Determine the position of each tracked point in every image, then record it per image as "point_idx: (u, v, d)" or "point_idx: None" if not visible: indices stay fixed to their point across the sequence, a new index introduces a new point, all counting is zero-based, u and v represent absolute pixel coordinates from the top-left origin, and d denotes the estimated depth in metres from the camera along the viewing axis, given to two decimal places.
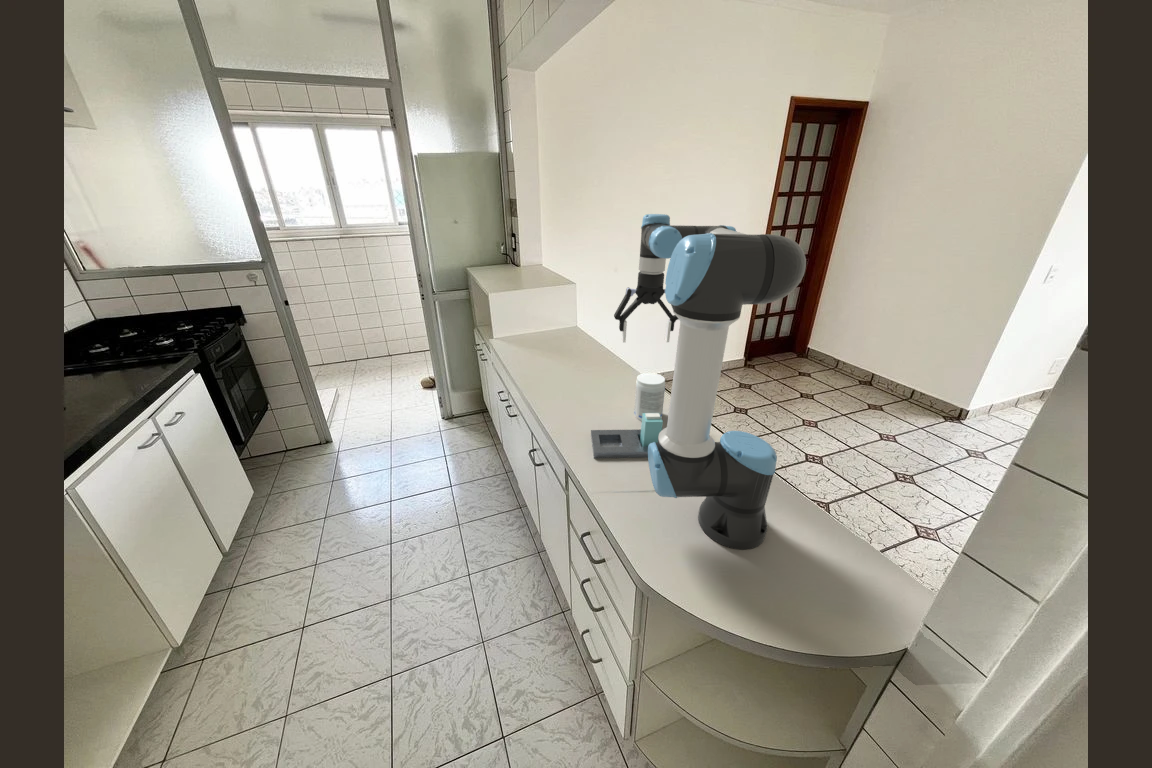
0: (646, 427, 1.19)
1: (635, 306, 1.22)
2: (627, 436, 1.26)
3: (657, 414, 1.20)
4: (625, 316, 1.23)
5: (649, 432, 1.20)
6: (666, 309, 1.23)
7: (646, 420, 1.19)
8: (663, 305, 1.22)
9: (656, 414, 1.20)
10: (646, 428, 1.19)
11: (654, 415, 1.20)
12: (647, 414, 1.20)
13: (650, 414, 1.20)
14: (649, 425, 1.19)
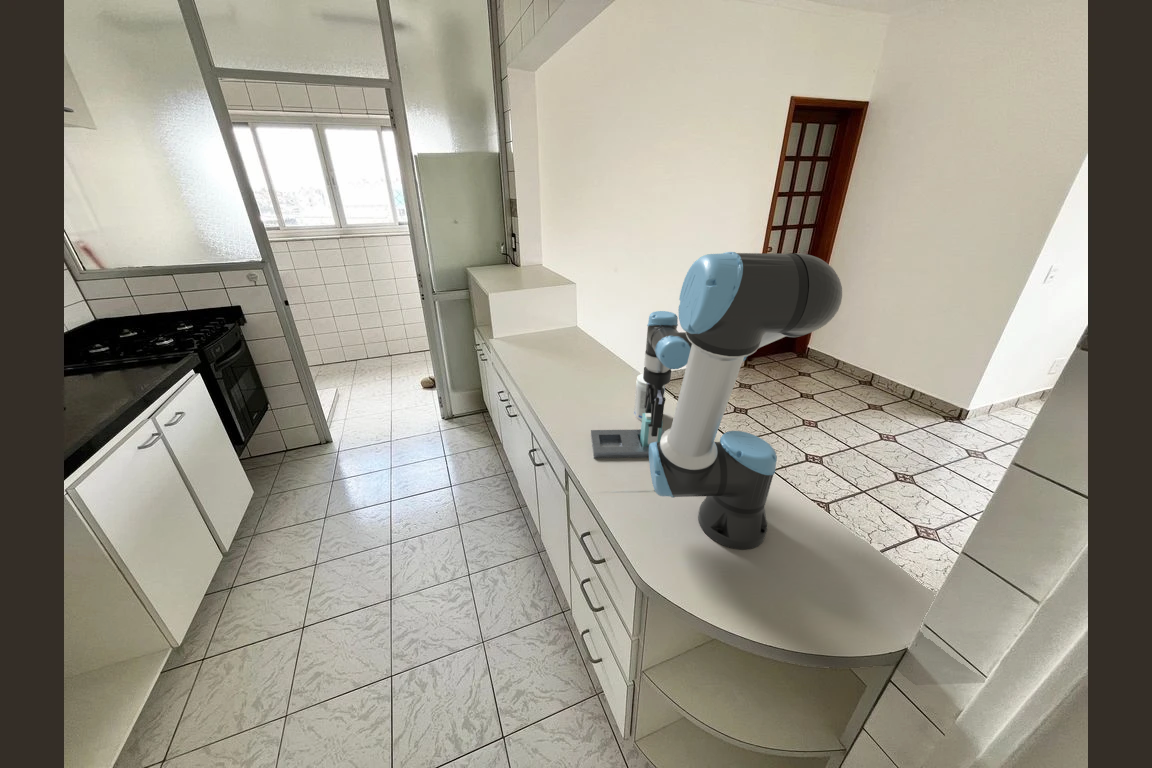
0: (646, 427, 1.19)
1: (648, 398, 1.20)
2: (627, 436, 1.26)
3: None
4: (646, 408, 1.23)
5: None
6: (651, 411, 1.16)
7: (646, 420, 1.19)
8: (651, 405, 1.16)
9: None
10: (646, 428, 1.19)
11: None
12: (647, 414, 1.20)
13: (650, 414, 1.20)
14: None
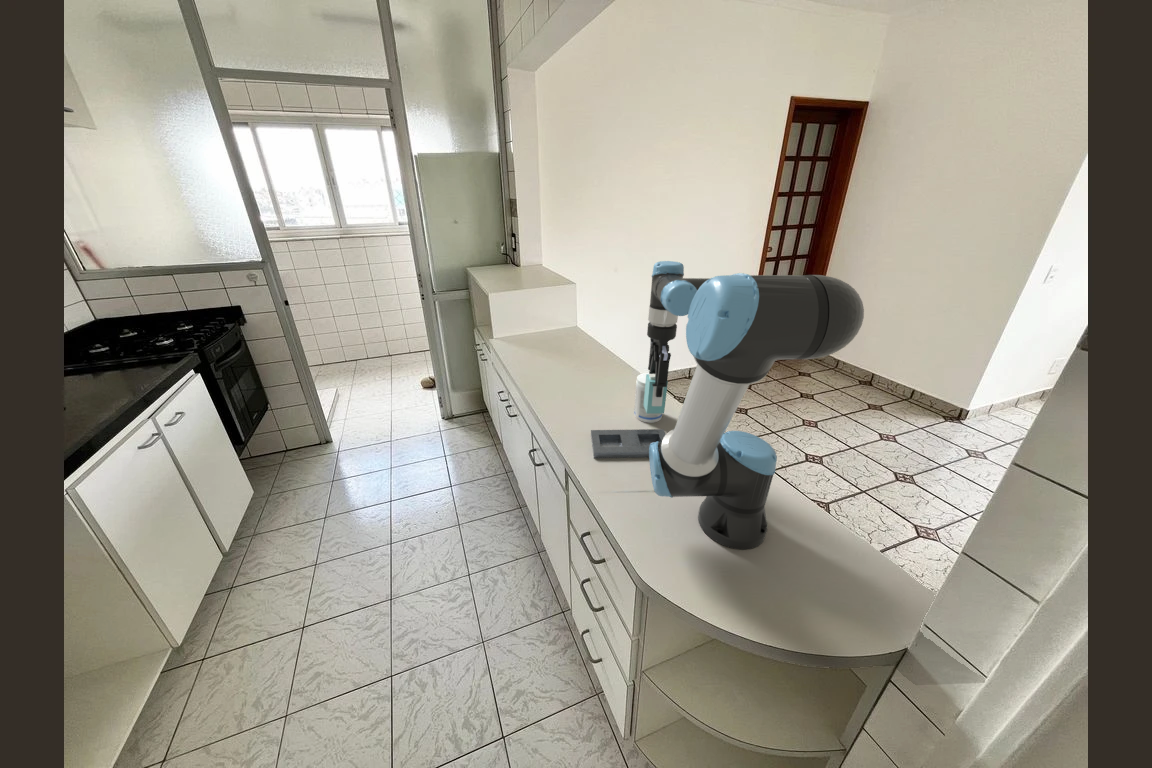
0: (650, 388, 1.13)
1: (652, 357, 1.15)
2: (627, 436, 1.26)
3: None
4: (650, 369, 1.17)
5: None
6: (656, 369, 1.10)
7: (650, 380, 1.13)
8: (656, 363, 1.10)
9: None
10: (650, 389, 1.13)
11: None
12: (651, 375, 1.14)
13: (654, 374, 1.15)
14: None
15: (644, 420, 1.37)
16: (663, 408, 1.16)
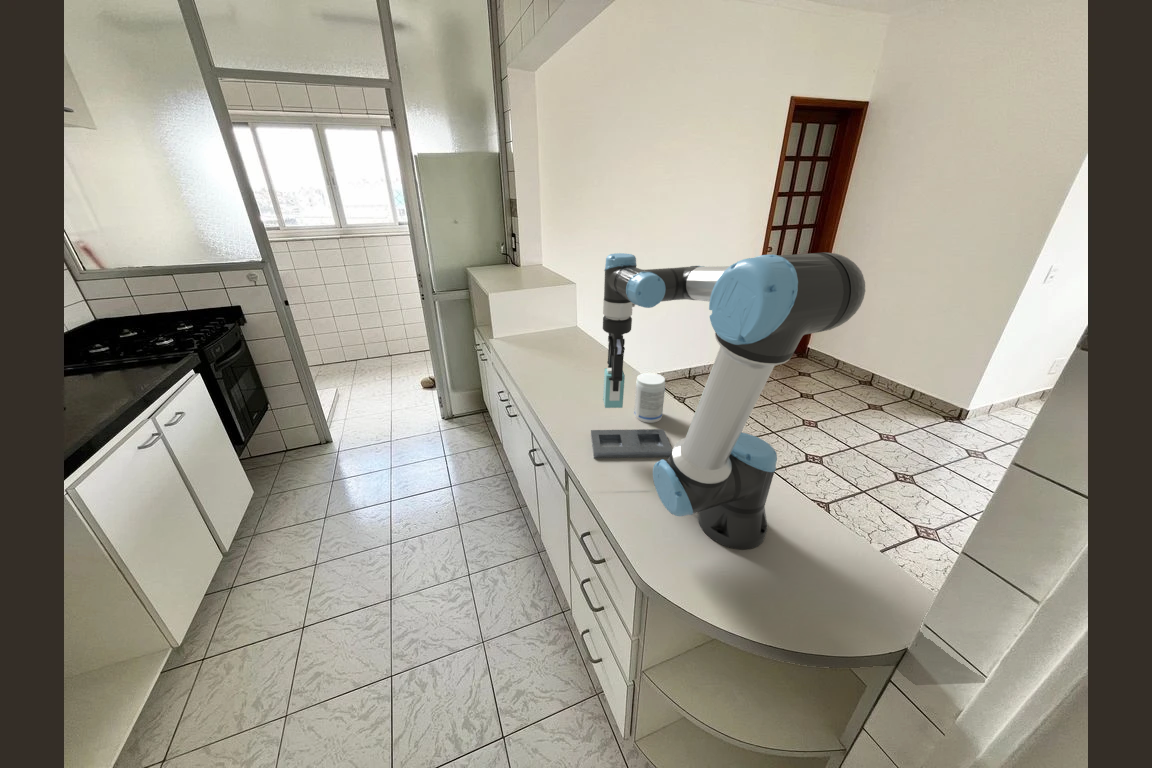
0: (607, 382, 1.12)
1: None
2: (627, 436, 1.26)
3: None
4: (608, 363, 1.16)
5: None
6: (612, 363, 1.09)
7: (607, 374, 1.12)
8: (612, 357, 1.09)
9: None
10: (607, 383, 1.12)
11: None
12: (608, 369, 1.13)
13: None
14: None
15: (644, 420, 1.37)
16: (621, 402, 1.15)
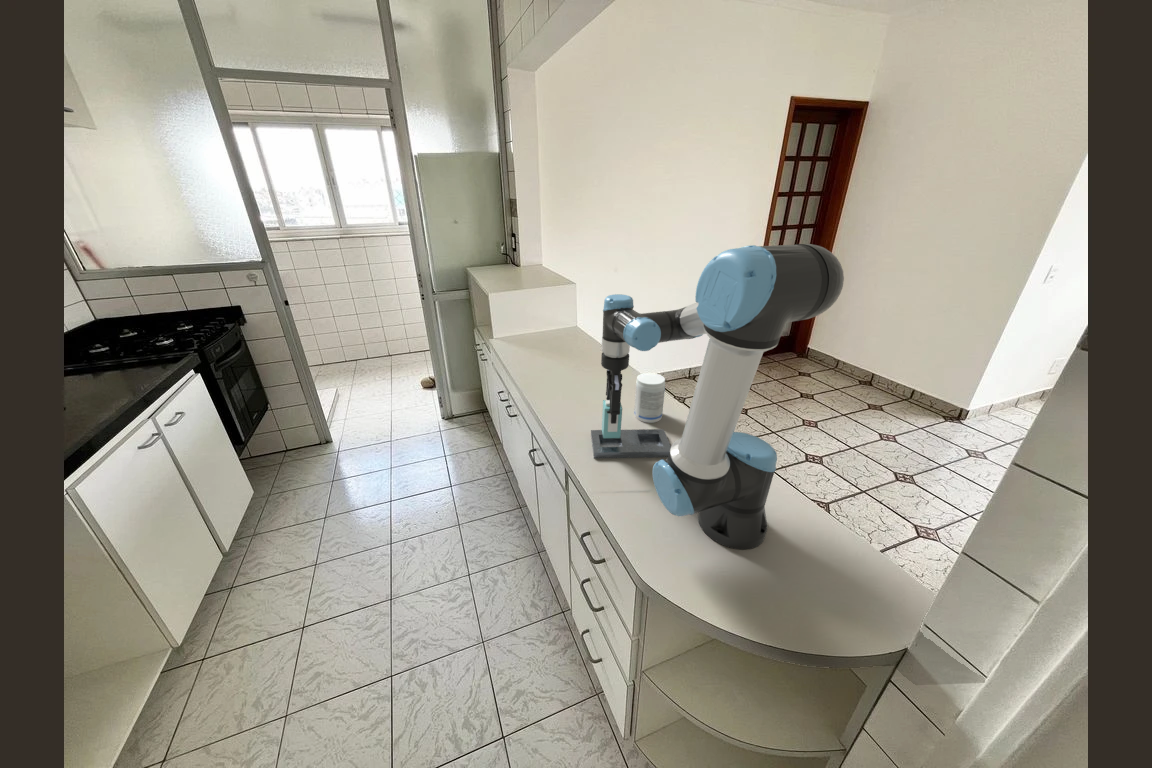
0: (605, 414, 1.17)
1: (608, 384, 1.18)
2: (627, 436, 1.26)
3: None
4: (607, 395, 1.21)
5: None
6: (610, 397, 1.14)
7: (605, 407, 1.17)
8: (610, 391, 1.13)
9: None
10: (605, 415, 1.17)
11: None
12: (607, 401, 1.18)
13: None
14: None
15: (644, 420, 1.37)
16: (619, 433, 1.20)
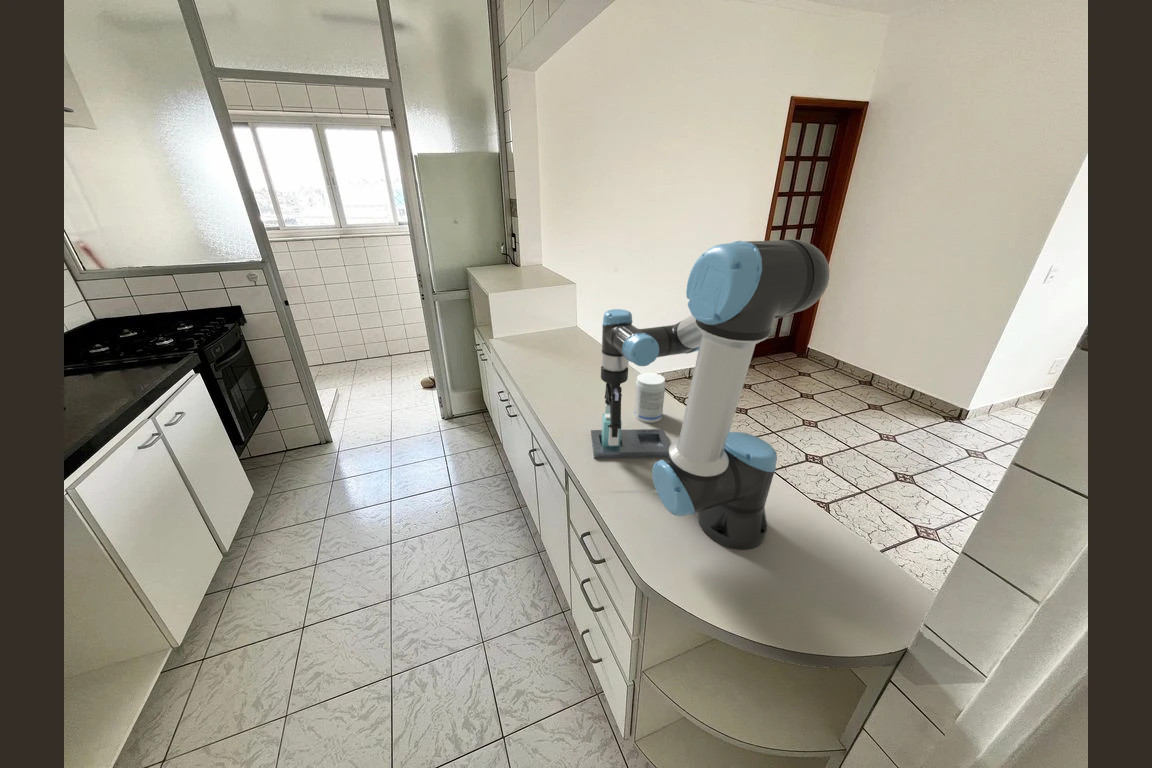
0: (605, 428, 1.19)
1: (607, 393, 1.21)
2: (627, 436, 1.26)
3: None
4: (606, 399, 1.24)
5: None
6: (610, 410, 1.14)
7: (605, 421, 1.18)
8: (610, 404, 1.14)
9: None
10: (605, 429, 1.19)
11: None
12: (606, 415, 1.20)
13: (609, 415, 1.20)
14: None
15: (644, 420, 1.37)
16: (618, 446, 1.22)
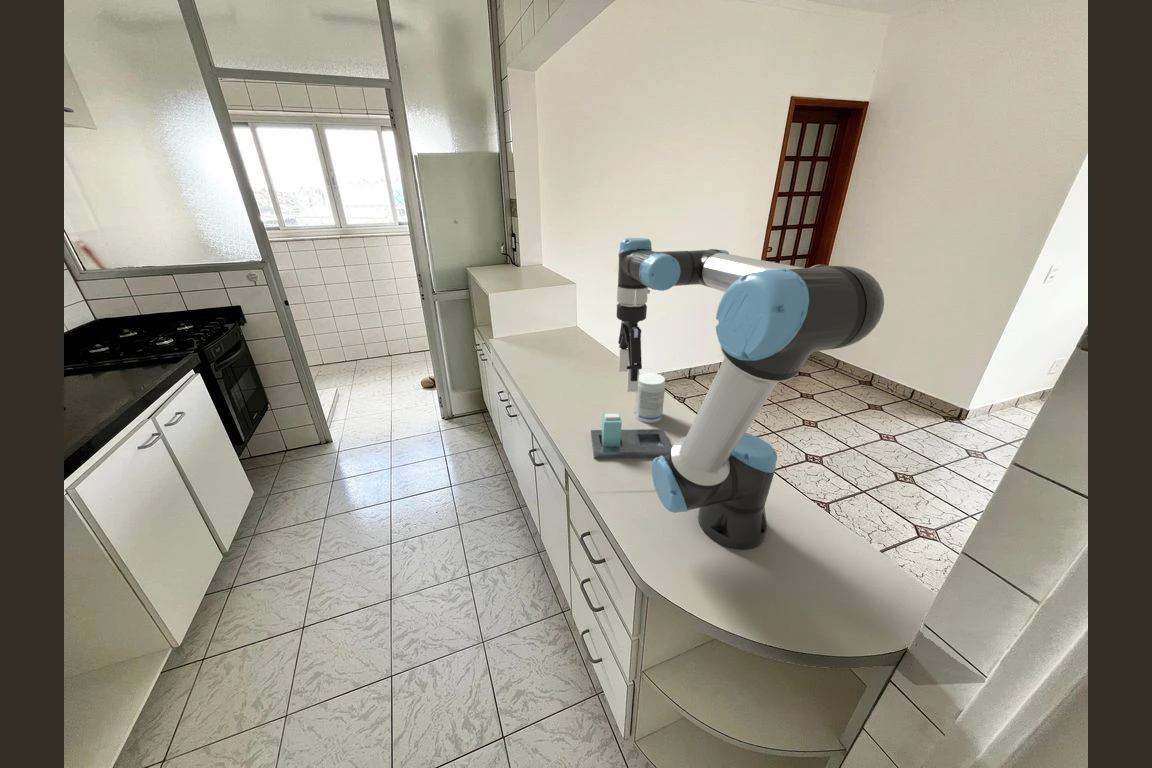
0: (605, 428, 1.19)
1: (622, 336, 1.11)
2: (627, 436, 1.26)
3: (616, 415, 1.20)
4: (620, 343, 1.15)
5: (609, 433, 1.19)
6: (628, 351, 1.03)
7: (605, 421, 1.18)
8: (628, 345, 1.03)
9: (616, 415, 1.20)
10: (605, 429, 1.19)
11: (613, 416, 1.19)
12: (606, 415, 1.20)
13: (609, 415, 1.20)
14: (608, 426, 1.18)
15: (644, 420, 1.37)
16: (618, 446, 1.22)
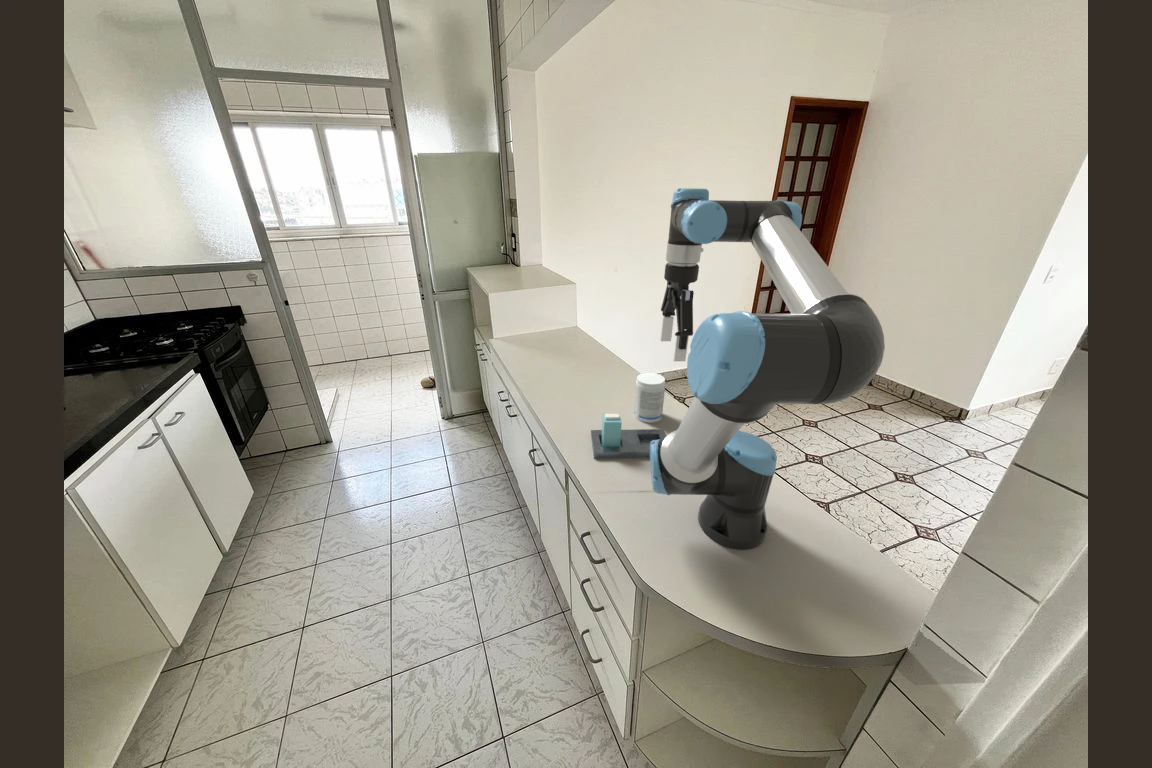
0: (605, 428, 1.19)
1: (668, 301, 1.01)
2: (627, 436, 1.26)
3: (616, 415, 1.20)
4: (664, 310, 1.05)
5: (609, 433, 1.19)
6: (677, 316, 0.93)
7: (605, 421, 1.18)
8: (677, 309, 0.94)
9: (616, 415, 1.20)
10: (605, 429, 1.19)
11: (613, 416, 1.19)
12: (606, 415, 1.20)
13: (609, 415, 1.20)
14: (608, 426, 1.18)
15: (644, 420, 1.37)
16: (618, 446, 1.22)
